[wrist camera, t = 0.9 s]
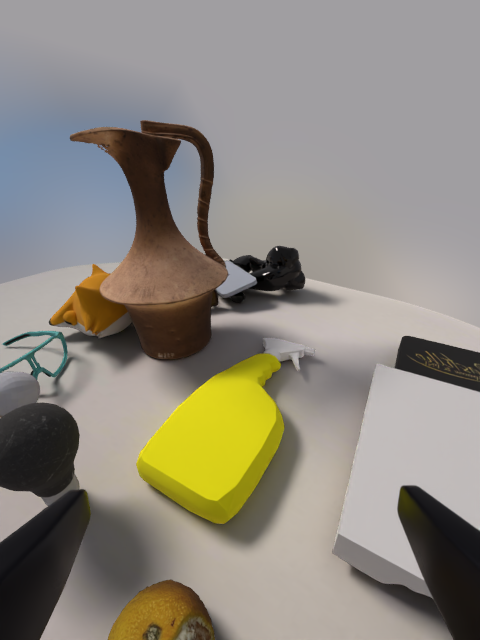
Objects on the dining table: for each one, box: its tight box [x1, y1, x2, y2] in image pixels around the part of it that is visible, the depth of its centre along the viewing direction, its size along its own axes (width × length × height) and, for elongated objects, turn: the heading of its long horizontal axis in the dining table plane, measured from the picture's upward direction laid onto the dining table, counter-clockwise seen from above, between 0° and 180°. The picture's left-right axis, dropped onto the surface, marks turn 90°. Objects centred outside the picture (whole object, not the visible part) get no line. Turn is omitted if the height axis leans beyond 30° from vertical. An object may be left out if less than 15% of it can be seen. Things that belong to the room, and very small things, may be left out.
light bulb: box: [0, 403, 79, 506], centre depth 21 cm, size 6×6×10 cm
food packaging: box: [332, 364, 480, 598], centre depth 23 cm, size 15×3×20 cm
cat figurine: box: [229, 246, 305, 303], centre depth 59 cm, size 10×14×18 cm
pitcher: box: [70, 120, 228, 359], centre depth 37 cm, size 18×17×28 cm
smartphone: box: [216, 261, 257, 298], centre depth 57 cm, size 7×1×15 cm
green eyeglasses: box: [0, 331, 68, 380], centre depth 37 cm, size 14×15×5 cm
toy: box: [49, 264, 132, 338], centre depth 46 cm, size 19×15×10 cm
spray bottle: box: [136, 338, 315, 524], centre depth 32 cm, size 3×11×25 cm
